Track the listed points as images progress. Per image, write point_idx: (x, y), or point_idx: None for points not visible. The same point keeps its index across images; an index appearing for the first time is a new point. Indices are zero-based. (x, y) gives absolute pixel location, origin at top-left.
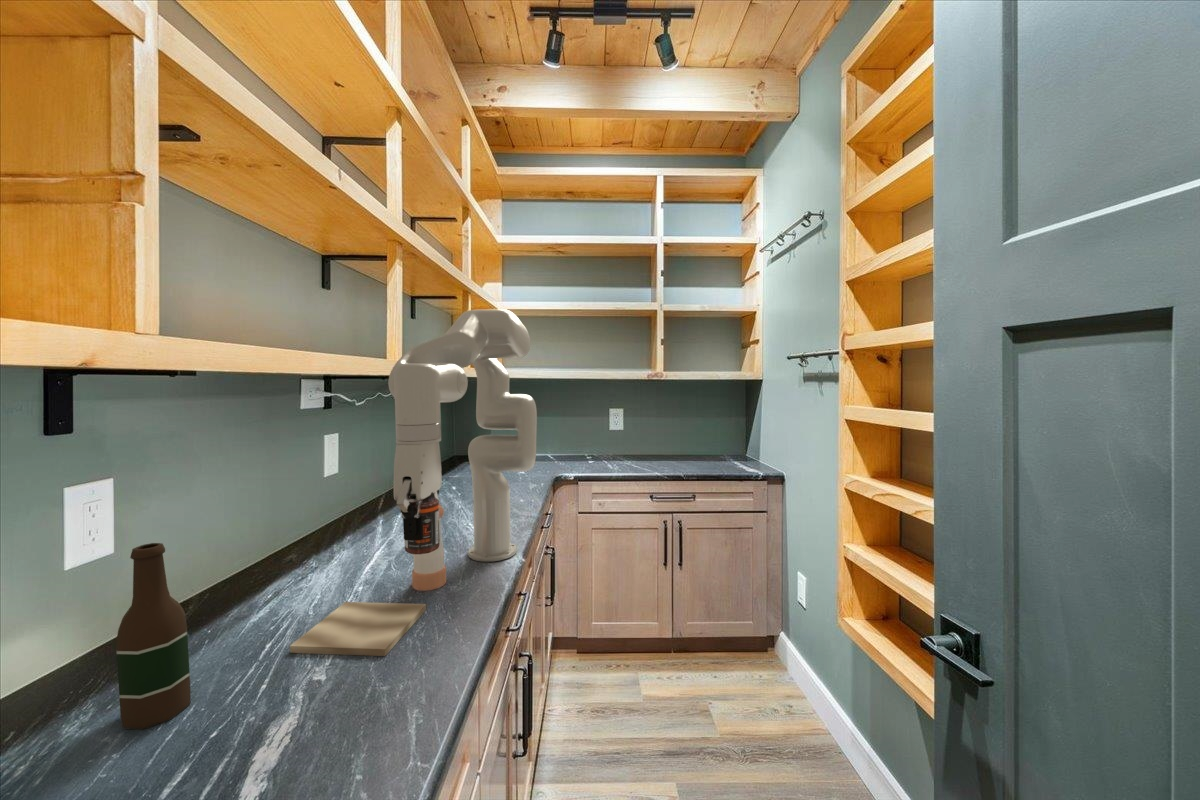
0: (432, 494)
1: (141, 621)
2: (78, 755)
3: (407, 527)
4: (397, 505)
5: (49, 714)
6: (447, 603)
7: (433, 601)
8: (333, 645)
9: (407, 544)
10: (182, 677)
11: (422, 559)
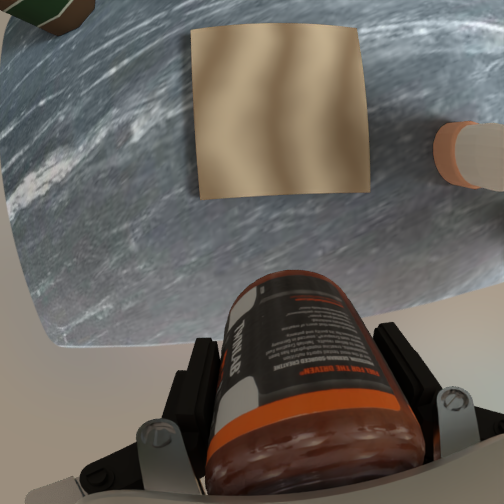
0: None
1: None
2: None
3: (171, 399)
4: (35, 490)
5: None
6: (390, 222)
7: (397, 190)
8: (199, 98)
9: (231, 317)
10: (50, 19)
11: (474, 153)
